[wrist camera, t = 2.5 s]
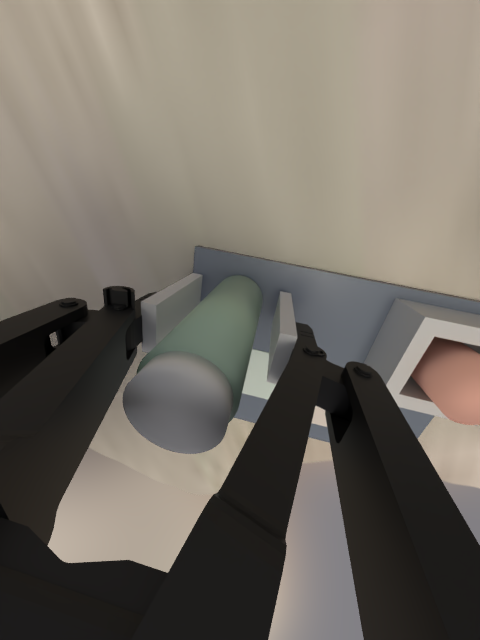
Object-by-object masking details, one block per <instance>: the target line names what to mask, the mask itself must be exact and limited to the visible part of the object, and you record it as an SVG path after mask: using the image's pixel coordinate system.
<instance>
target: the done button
mask: <svg viewBox="0 0 480 640" xmlns="http://www.w3.org/2000/svg"><path fill="white" fill-rule="evenodd" d="M410 376H411V377H412V378H413V379H414V380H415V381H416V383H417V384H418V385H419V386H420V387H421V388H422V390H423V391H424V392H425V393H426V394H427V395H428V397H429V398H430V399H431V400H432V401H433V402H434V404H435V405H436V406H437V407H438V408H439V409H440V411H441V412H442V413H443V414H444V415H445V416H446V417H447V418H448V419H450V420H452V421H454V422H457V423H460V424H465V425H480V354H479V353H477V352H476V351H474V350H473V349H471V348H470V347H468V346H467V345H465V344H464V343H462V342H458V341H453V340H449V339H444V338H439V337H434V338H433V340H432V341H431V343H430V345H429V346H428V348H427V350H426V351H425V353H424V354H423V356H422V358H421V359H420V361H419V362H418V364H417V366H416V367H415V369H414V371H413V372H412V374H411V375H410Z"/></svg>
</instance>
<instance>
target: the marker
mask: <svg viewBox="0 0 480 640" xmlns="http://www.w3.org/2000/svg"><path fill="white" fill-rule="evenodd" d="M262 303H263V296H262V292H261V290H260V288H259V286H258V285H257V284H256V283H255V282H254V281H253V280H252V279H250V278H248V277H245V276H241V275H234V276H230V277H228V278H226V279H224V280H223V281H222V282H221V283H220V284H219V285H218V286H217V287H216V288H215V289H213V290H212V291H211V292H210V293H209V294H208V295H207V296H206V297H205V298H204V299H203V300H202V301H201V302H200V303H199V304H198V305H197V306H196V307H195V308H194V309H193V310H192V311H191V312H190V313H189V314H188V315H187V316H186V317H185V318H184V319H183V320H182V321H181V322H180V323H179V324H178V325H177V326H176V327H175V328H174V329H173V330H172V331H171V332H169V333H168V334H167V335H166V336H165V337H164V338H163V339H162V340H161V341H160V342H159V343H158V344H157V345H156V346H155V347H154V348H153V349H152V350H151V351H150V352H149V353H148V354H147V355H146V356H145V357H144V358H143V359H142V361H141V362H140V364H139V367H138V369H137V375H136V376H135V377H134V378H133V379H132V380H131V381H130V382H129V383H128V384H127V386H126V388H125V390H124V393H123V407H124V410H125V413H126V415H127V418H128V419H129V421H130V423H131V424H132V425H133V426H134V428H135V429H136V430H137V431H138V432H139V433H140V434H141V435H142V436H144V437H145V438H146V439H148V440H149V441H151V442H152V443H154V444H156V445H158V446H159V447H162V448H164V449H167V450H170V451H173V452H178V453H185V454H196V453H202V452H205V451H208V450H210V449H212V448H214V447H216V446H217V445H218V444H219V443H220V442H221V441H222V439H223V437H224V436H225V433H226V429H227V426H228V423H229V422H230V421H231V420H232V419H233V417H234V416H235V415H236V413H237V411H238V408H239V404H240V399H241V395H242V391H243V386H244V382H245V378H246V373H247V369H248V365H249V360H250V356H251V352H252V347H253V343H254V338H255V334H256V330H257V325H258V321H259V317H260V312H261V308H262Z"/></svg>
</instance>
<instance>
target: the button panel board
mask: <svg viewBox="0 0 480 640" xmlns="http://www.w3.org/2000/svg"><path fill="white" fill-rule="evenodd" d="M193 273H196V274H201V275H203V276H202V287H201V298H200V302H201V301H202V300H203V299H204V298H205V297H206V296H207V295H208V294H209V293H210V292H211V291H212V290H213V289H215V288H216V287H217V286H218V285H219V284H220V283H221V282H222V281H223V280H224V279H226V278H228V277H230V276H234V275H241V276H245V277H248V278H250V279H252V280H253V281H254V282H255V283H256V284H257V285H258V286H259V288H260V290H261V292H262V296H263V303H262V308H261V312H260V317H259V321H258V325H257V330H256V334H255V338H254V343H253V347H252V352H251V356H250V360H249V365H248V369H247V373H246V378H245V382H244V386H243V391H242V395H241V399H240V404H239V408H238V411H237V413H236V415H235V416H234V418H238V419H242V420H245V421H249V422H253V423H256V422H257V420H258V418H259V416H260V414H261V412H262V410H263V408H264V406H265V405H266V403H267V401H268V399H269V397H270V395H271V393H272V391H273V390H274V388H275V386H276V384H273V383H269V382H267V372H268V361H269V350H270V338H271V327H272V322H273V318H274V314H275V310H276V306H277V302H278V298H279V294H280V291H282V292H287V293H291V296H292V303H293V310H294V317H295V322H298V323H303V324H307V325H308V326H310V327H311V328H312V330H313V333H314V337H315V340H316V343H317V346H318V347H320V348H321V349H322V350H324V351H325V353H326V355H327V358H326V360H328V361H329V362H331V363H333V364H335V365H338V366H340V367H343V368H344V367H345V365H346V363H348V362H351V361H355V362H360V363H364V364H366V365H367V366H370V367H372V368H373V369H374V370H375V371H377V372H378V374H379V375H380V376H381V378H382V379H383V381H384V383H385V385H386V386H387V388H388V390H389V391H390V393H391V395H392V397H393V398H394V400H395V402H396V403H397V405H398V407H399V409H400V410H401V412H402V414H403V415H404V417H405V419H406V421H407V422H408V424H409V426H410V427H411V429H412V431H413V432H414V434H415V436H416V438H418V437H419V436H420V434H421V433H422V432H423V430H424V429H425V428H426V426H427V425H428V424H429V422H430V421H431V420H432V418H433V417H434V416H438V417H442V418H446V419H448V418H447V417H446V416H445V415H444V414H443V413H442V412H441V411H440V409H439V408H438V407H437V406H436V405H435V404H434V402H433V401H432V400H431V399H430V398H429V397H428V395H427V394H426V393H425V392H424V391H423V390H422V388H421V387H420V386H419V385H418V384H417V383H416V381H415V380H414V379H413V378H412V377H411V376H410V375H411V374H412V372H413V371H414V369H415V367H416V366H417V364H418V362H419V361H420V359H421V358H422V356H423V354H424V353H425V351H426V350H427V348H428V346H429V345H430V343H431V341H432V340H433V338H434V337H439V338H444V339H449V340H453V341H458V342H462V343H464V344H465V345H467V346H468V347H470V348H471V349H473V350H474V351H476V352H477V353H479V354H480V301H476V300H471V299H466V298H461V297H456V296H451V295H446V294H441V293H436V292H431V291H426V290H420V289H415V288H410V287H405V286H400V285H395V284H390V283H385V282H380V281H375V280H370V279H365V278H360V277H354V276H349V275H344V274H339V273H334V272H329V271H324V270H319V269H314V268H309V267H304V266H299V265H294V264H289V263H283V262H278V261H273V260H268V259H263V258H258V257H253V256H248V255H243V254H238V253H233V252H228V251H223V250H218V249H212V248H207V247H202V246H195V253H194V267H193ZM475 426H477V425H475ZM308 437H310V438H314V439H318V440H322V441H325V442H329V443H330V440H329V434H328V428H327V422H326V416H325V410H324V409H322V408H320V407H317V406H315V410H314V414H313V419H312V423H311V427H310V432H309V436H308Z"/></svg>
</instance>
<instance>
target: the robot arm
mask: <svg viewBox="0 0 480 640" xmlns="http://www.w3.org/2000/svg"><path fill="white" fill-rule="evenodd" d="M202 276H203V275H201V274H196V273H191V274H190V275H188V276H186V277H184V278H182V279H181V280H179V281H177V282H175V283H173V284H172V285H170V286H168V287H166V288H164V289H163V290H161V291H159V292H154V293H149V294H147V295H145V296H143V297H141V298H139V299H138V300H136V301H135V291H134V290H133V289H132V288H129V287H124V286H111V287H106V288H104V289H103V295H104V304H105V306H104V307H103V308H102V309H100V310H99V311H98V310H88V309H87V302H86V301H85V300H81V299H76V298H66V299H61V300H57V301H54V302H51V303H48V304H46V305H43V306H40V307H38V308H35V309H32V310H30V311H27V312H24V313H21V314H19V315H16V316H13V317H11V318H8V319H5V320H3V321H0V640H268V637H269V632H270V628H271V623H272V618H273V613H274V609H275V605H276V600H277V595H278V590H279V586H280V581H281V577H282V572H283V566H284V561H285V556H286V546H287V545H286V541H285V538H286V531H287V527H288V522H289V518H290V513H291V509H292V505H293V500H294V496H295V492H296V487H297V483H298V479H299V475H300V470H301V466H302V462H303V458H304V453H305V449H306V445H307V440H308V436H309V432H310V427H311V423H312V419H313V414H314V410H315V406H317V407H320V408H322V409H324V410H325V416H326V422H327V428H328V434H329V440H330V445H331V451H332V457H333V463H334V469H335V474H336V480H337V486H338V492H339V498H340V504H341V509H342V515H343V520H344V527H345V533H346V538H347V544H348V550H349V556H350V561H351V567H352V573H353V579H354V585H355V591H356V596H357V602H358V608H359V614H360V620H361V625H362V631H363V637H364V640H480V545H479V544H478V542H477V540H476V539H475V537H474V535H473V533H472V532H471V530H470V528H469V527H468V525H467V523H466V521H465V520H464V518H463V516H462V515H461V513H460V511H459V509H458V508H457V506H456V504H455V503H454V501H453V499H452V498H451V496H450V494H449V492H448V491H447V489H446V487H445V486H444V484H443V482H442V480H441V479H440V477H439V475H438V474H437V472H436V470H435V468H434V467H433V465H432V463H431V462H430V460H429V458H428V456H427V455H426V453H425V451H424V450H423V448H422V446H421V444H420V443H419V441H418V439H417V438H416V436H415V434H414V432H413V431H412V429H411V427H410V426H409V424H408V422H407V421H406V419H405V417H404V415H403V414H402V412H401V410H400V409H399V407H398V405H397V403H396V402H395V400H394V398H393V397H392V395H391V393H390V391H389V390H388V388H387V386H386V385H385V383H384V381H383V379H382V378H381V376H380V375H379V374H378V372H377V371H375V370H374V369H373V368H372V367H370V366H367V365H366V364H364V363H360V362H355V361H351V362H348V363H346V365H345V367H344V368H343V367H340V366H338V365H335V364H333V363H331V362H329V361H328V360H326V358H327V355H326V353H325V351H324V350H322V349H321V348H320V347H318V346H317V343H316V340H315V337H314V333H313V330H312V328H311V327H310V326H308V325H307V324H303V323H298V322H295V317H294V310H293V303H292V296H291V293H287V292H282V291H280V294H279V298H278V302H277V306H276V310H275V314H274V318H273V322H272V327H271V338H270V350H269V361H268V372H267V382H269V383H273V384H276V386H275V388H274V390H273V391H272V393H271V395H270V397H269V399H268V401H267V403H266V405H265V406H264V408H263V410H262V412H261V414H260V416H259V418H258V420H257V422H256V423H255V425H254V427H253V429H252V431H251V433H250V435H249V437H248V438H247V440H246V442H245V444H244V446H243V448H242V450H241V452H240V453H239V455H238V457H237V459H236V461H235V463H234V465H233V467H232V468H231V470H230V472H229V474H228V476H227V478H226V480H225V482H224V483H223V485H222V487H221V489H220V490H219V492H218V493H216V494H214V495H213V496H212V497H211V499H210V500H209V501H208V503H207V505H206V506H205V508H204V510H203V511H202V513H201V515H200V517H199V518H198V520H197V522H196V524H195V526H194V527H193V529H192V531H191V533H190V535H189V536H188V538H187V540H186V542H185V544H184V545H183V547H182V549H181V551H180V553H179V554H178V556H177V558H176V560H175V562H174V564H173V565H172V567H171V569H170V571H169V572H168V573H166V572H163V571H160V570H157V569H154V568H151V567H148V566H145V565H142V564H139V563H136V562H133V561H130V560H120V561H102V562H84V563H66V562H63V561H62V560H60V559H59V558H58V557H57V556H56V555H55V554H54V553H53V552H52V550H51V549H49V547H48V546H47V545H48V543H49V541H50V538H51V535H52V531H53V528H54V523H55V517H56V511H57V509H58V506H59V503H60V501H61V499H62V497H63V495H64V493H65V491H66V489H67V487H68V485H69V484H70V482H71V480H72V478H73V476H74V474H75V472H76V470H77V468H78V466H79V464H80V462H81V460H82V459H83V457H84V454H85V452H86V451H87V449H88V447H89V445H90V443H91V441H92V439H93V437H94V435H95V433H96V432H97V430H98V428H99V426H100V424H101V422H102V420H103V418H104V416H105V414H106V412H107V410H108V408H109V406H110V405H111V403H112V401H113V399H114V397H115V395H116V393H117V391H118V389H119V387H120V385H121V383H122V381H123V380H124V378H125V376H126V374H127V372H128V370H129V368H130V366H131V364H132V362H133V360H134V358H135V356H136V354H137V345H138V344H140V343H141V342H142V351H143V352H147V353H149V352H150V351H151V350H152V349H153V348H154V347H155V346H156V345H157V344H158V343H159V342H160V341H161V340H162V339H163V338H164V337H165V336H166V335H167V334H168V333H169V332H171V331H172V330H173V329H174V328H175V327H176V326H177V325H178V324H179V323H180V322H181V321H182V320H183V319H184V318H185V317H186V316H187V315H188V314H189V313H190V312H191V311H192V310H193V309H194V308H195V307H196V306H197V305H198V304H199V303H200V298H201V287H202ZM55 331H56V335H57V340H58V345H56V346H54V347H52V345H51V341H50V337H49V335H50V334H51V333H53V332H55Z"/></svg>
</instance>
